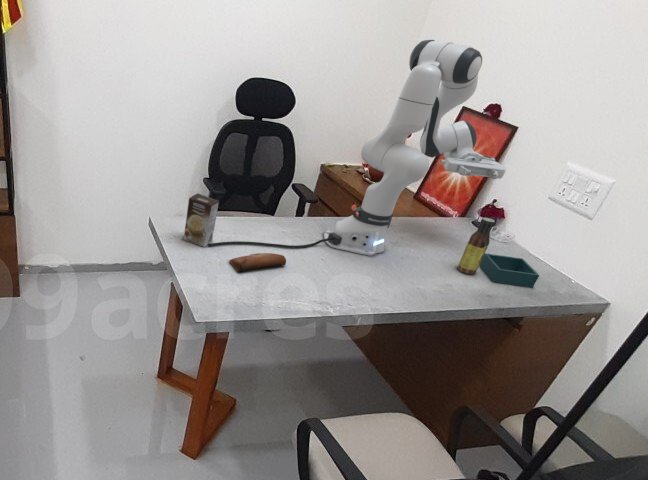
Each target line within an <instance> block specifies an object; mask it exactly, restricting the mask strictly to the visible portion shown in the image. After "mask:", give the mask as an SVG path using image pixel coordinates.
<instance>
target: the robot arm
mask: <svg viewBox="0 0 648 480" xmlns="http://www.w3.org/2000/svg"><path fill="white" fill-rule="evenodd" d="M408 63H409V70H410V72H409V74H408V76H407V78H406V79H405V82H404V83H403V85H402V88H401V90H400V93H399V95H398V98H397V101H396V103H395V105H394V108H393V110H392V113H391V116H390V118H389V119H388V122H387V123H386V125H385V126H384V127H383V128H382V129H381V131H380V132H378V133H377V134H375V135H374V136H371V137H369V138H368V139H367V140H366V141H365V142H364V143H363V146H362V147H361V153H360V154H361V159H362V160H363V161H364V162H365V163H366V164H367V165H368V166H369V167H371V168H372V169H375V170H377V171H379V172H382V173H383V176H382V178H381V180H379V181H378V182H377V181H376V182H373V183H372V184H370V185H368V187H367V188H366V190H365V193H364V196H363V200H362V203H361V205H360V206H357V205H356V204H352V205H351V211H353V213H352V215H349V216H346V217H344V218H342V219H339V220H337V221H335V223H334V225H333V226H332V228H331V230H329V229H328V230H326V231H325V232H324V233H323V238H322V239H320V240H317V241H315V242H312V243H308V244H300V245H290V244H280V243H268V242H261V241H259V242H258V241H239V240H238V241H237V240H236V241H235V240H234V241H233V240H232V241H219V242H211V243H209V244H208V245H207V246H208V247H215V246H223V245H224V246H225V245H253V246H254V245H255V246H265V247H266V246H267V247H279V248H285V249H286V248H287V249H304V248H305V249H306V248H310V247H315V246H317V245H318V244H321V243H324V242H325V243H326V244H327V245H328V246H329V247H331V248H333V249H336V250H337V249H338V250H341V251H346V252H351V253H355V254H360V255H364V256H367V257H368V256H369V257H373V256H375V255H376V254H380V253H383V252H384V251H385V245H386V236H387V232H388V229H389V228H390V225H391V223H392V221H393V216H394V215H393V214H394V213H393V212H394V210H395V207H396V205H397V203H398V199H399V198H400V196H401V194H402V193H403V191H404V190H405V189H406V188H407V187H408V186H409V185H412V184H414V183H416V182H419V181H421V179H423V178H424V177H425V176H426V174H427V173H428V171H429V168H430V158H432V159H433V158H435V157H438V156H441V155H442V154H443V157H444V159H441V160H440V162H441V164H443V169H444V171H446V172H449V173H456V174H459V175H461V176H462V177H469V176H476V177H477V176H478V177H485V178H490V179H492V180H497V179H502V178H503V177H504V175H505V173H506V167H504V165H502V164H501V163H500V162H498V161H496V159H495V158H494V157H491V156H487V155H484V154H481V153H479V152H477V151H474V148H475V146H476V144H477V139H478V138H477V132H476V129H475V127H474V126H473V124H472V123H470V122H469V121H467V120H465V119H462V120H460V121H457V122H452V123H450V124H447V125H445V126H441V127H440V125H441V121H442V118H443V117H444V116H445V115H446V114H447V113H449V112H450V111H452V110H453V109H455V108H456V107H459V106H460V105H462V104H464V103H466V102H467V101H468V100H469V99H470V98H471V97H472V96H473V95H474V94H475V92H476V89H477V87H478V81H479V72H480V70H481V67H482V65H483V56H482V54H481V52H480V51H479V50H477V48H474V47H473V46H471V45H468V44H457V43H454V42H451V41H445V40H434V39H424V40H421V41H420V42H419V43H417V44H416V45H415V46H414V47H413V49H412V51H411V53H410V56H409V61H408ZM422 130H423V131H422ZM420 131H422V134H421V137H420V138H419V148H420V150H419V149H418V148H415V147H412V146H410V145H407V144H405V142H406V141H407V139H408V138H409V136H410V135H411V134H415V133H418V132H420Z"/></svg>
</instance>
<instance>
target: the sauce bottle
mask: <svg viewBox="0 0 648 480" xmlns="http://www.w3.org/2000/svg"><path fill="white" fill-rule="evenodd" d="M495 223H496V221H495V219H492V218H491V217H490V218H489V217H482V218H481V220H480V222H479V226H478V228H477V230H476V231H475V232H473V233H472V234H471V235H470V237H469V240H468V242H466V243H467V244H466V246H465V248H464V251H463V253H462V254H461V257H460V260H459V262H458V266H457V270H458V271H459V272H461V273H463V274H468V275H475V274H476V272H477V271H478V269H479V267H480V266H479V265H480V263H481V261H482V259H483V256H484V254H485V253H487V250H488V247H489V245H490V238H491V237H490V236H491V231H492V229H493V226H494V225H495Z"/></svg>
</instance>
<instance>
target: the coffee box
mask: <svg viewBox="0 0 648 480" xmlns="http://www.w3.org/2000/svg"><path fill="white" fill-rule="evenodd" d="M219 204H220V200H219V199H216V198H213V197H209V196H207V195H204V194H201V193H195V194H194V195H192V196H191V197H189V198H188V203H187V212H186V219H185V225H184V234H183V240H184V241H187V242H190V243H192V244H195V245H198V246H200V247H203V248H205V247H207V246H208V244H211V243H213V238H214V233H215V227H216V220H217V217H218V216H217V215H218V208H219Z"/></svg>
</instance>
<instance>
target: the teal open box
mask: <svg viewBox="0 0 648 480" xmlns="http://www.w3.org/2000/svg"><path fill="white" fill-rule="evenodd" d="M479 267H480V268H481V269H482V271H483V272H484V274H486V276H487V277H488V278H489V279H490V281H491V282H492V283H497V284H502V285H503V284H505V285H511V286H517V287H518V286H519V287H525V288H532V289H533V288H534V286H535V284H536V283H537V281H538V279H539V277H540V274H539V273H538V272H537V271H536V270H535V269H534V268H533V267H532V266H531V265H530V264H529V263H528V262H527V261H526V260H525V259H524V258H520V257H516V256H515V257H514V256H508V255H500V254H494V253H493V254H492V253H487V252H485V254H484V256H483V259H482V261H481V263H480V265H479Z"/></svg>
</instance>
